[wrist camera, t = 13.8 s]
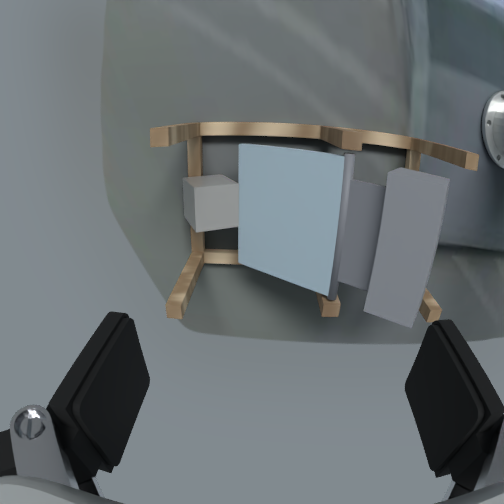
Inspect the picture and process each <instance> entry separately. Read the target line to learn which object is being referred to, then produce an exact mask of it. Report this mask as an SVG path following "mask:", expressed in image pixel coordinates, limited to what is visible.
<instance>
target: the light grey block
mask: <svg viewBox="0 0 504 504" xmlns="http://www.w3.org/2000/svg"><path fill="white" fill-rule="evenodd" d="M182 179H183V202H184V217H185V218H186V220H187V221H188V222H189V224H190V225H191V226H192V228H193V229H194V230H195V232H196V233H197V232H203V231H211V230H218V229H225V228H232V227H239V183H237V182H235V181H233V180H231V179H229V178H227V177H226V176H224V175H222V174H219V175H207V176H195V177H185V178H182Z"/></svg>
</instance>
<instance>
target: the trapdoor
mask: <svg viewBox="0 0 504 504" xmlns="http://www.w3.org/2000/svg"><path fill="white" fill-rule="evenodd" d="M354 163H355V154H353V153H344V155H338V154H331V153H324V152H317V151H310V150H302V149H294V148H285V147H276V146H266V145H255V144H239V227H238V263H240V264H243V265H246V266H248V267H251V268H254V269H256V270H259V271H262V272H264V273H267V274H270V275H272V276H275V277H278V278H280V279H283V280H286V281H288V282H291V283H294V284H296V285H299V286H302V287H305V288H307V289H310V290H313V291H315V292H318V293H321V294H324V295H326V296H327V298H328V299H329V300H336V299H337V293H338V287H339V282H342V283H345V284H348V285H351V286H354V287H357V288H360V289H363V290H366V291H368V293H367V298H366V302H365V306H364V312H367V313H370V314H373V315H375V316H378V317H381V318H384V319H387V320H389V321H392V322H395V323H398V324H401V325H403V326H406V327H409V328H412V326H413V323H414V321H415V318H416V316H417V313H418V311H419V308H420V305H421V303H422V299H423V296H424V293H425V290H426V286H427V283H428V279H429V276H430V272H431V269H432V265H433V261H434V257H435V253H436V249H437V245H438V241H439V236H440V232H441V227H442V223H443V218H444V213H445V207H446V202H447V196H448V190H449V184H450V179H448V178H444V177H440V176H436V175H432V174H428V173H423V172H419V171H415V170H410V169H406V168H401V167H400V168H397V169H395V170H392V171H390V172H388V176H387V184H386V186H382V185H378V184H373V183H368V182H364V181H359V180H354V179H353V174H354Z"/></svg>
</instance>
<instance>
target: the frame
mask: <svg viewBox="0 0 504 504" xmlns="http://www.w3.org/2000/svg"><path fill="white" fill-rule="evenodd" d="M204 135H252V136H282V137H301V138H316V139H322V140H324V141H326V142H328V143H330V144H332V145H335V146H337V147H339V148H341V149H348V150H358V151H362V143H367V144H375V145H383V146H390V147H397V148H404V149H407V153H406V163H405V168H406V169H410V170H415V171H419V166H420V157H421V153H423V154H426V155H429V156H432V157H435V158H438V159H441V160H443V161H446V162H449V163H452V164H455V165H457V166H460V167H463V168H465V169H470V170H475V171H477V167H478V159H479V155H478V154H475V153H472V152H468V151H465V150H461V149H458V148H454V147H450V146H447V145H443V144H439V143H435V142H431V141H427V140H422V139H418V138H413V137H407V136H401V135H395V134H388V133H381V132H374V131H367V130H359V129H350V128H341V127H330V126H319V125H305V124H289V123H265V122H201V123H185V124H177V125H170V126H163V127H156V128H150V144H151V147H163V146H171V145H174V144H176V143H179V142H182V141H185V140H187V148H188V177H195V176H203V166H202V136H204ZM190 228H191V245H192V253H191V255H190V257H189V259H188V261H187V263H186V265H185V267H184V269H183V271H182V273H181V275H180V277H179V279H178V281H177V283H176V285H175V287H174V289H173V291H172V293H171V295H170V297H169V299H168V301H167V303H166V312H167V318H175V319H182V318H183V316H184V313H185V311H186V308H187V305H188V303H189V300H190V298H191V295H192V292H193V290H194V287H195V285H196V282H197V280H198V277H199V275H200V272H201V270H202V267H203V265H204V263H214V264H240V263H238V250H227V249H205V234H204V231H203V232H197V233H196V232H195V230H194V229H193V228H192V226H191V225H190ZM240 265H243V264H240ZM316 295H317V299H318V304H319V308H320V312H321V316H322V317H338V315H339V310H340V305H341V304H340V301H339V298H338V295H337V299H336V300H329V299H328V298H327V296H326V295H324V294H321V293H318V292H316ZM419 311H420V313H421V314H422V316H423V317H424V319H425V321H426V322H434V321H436V320H439V317H440V315H441V312H442V309H441V308H440V306H439V305H438V303H437V302H436V301H435V299H434V298H433V297H432V295H431V294H430V293H429V291H428V290H427V289H426V290H425V293H424V296H423V299H422V303H421V305H420V308H419Z"/></svg>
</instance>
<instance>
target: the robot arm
mask: <svg viewBox="0 0 504 504" xmlns="http://www.w3.org/2000/svg"><path fill="white" fill-rule="evenodd" d="M482 133H483V140H484V143H485V147H486V149H487V151H488V154H489V155H490V157H491V159H492V160H493V161H494V162H495V163H496V164H497V165H498V166H499V167H501V168H503V169H504V91H499V92H496V93H494V94H493V95H492V96H491V97H490V98H489V100H488V101H487V103H486V106H485V108H484V112H483V117H482ZM149 383H150V377H149V373H148V370H147V367H146V364H145V360H144V357H143V353H142V350H141V346H140V343H139V339H138V335H137V331H136V327H135V324H134V320H133V319H131V318H129V316H128V314H126V313H119V312H109V313H108V314H107V315H106V317H105V318H104V320H103V321H102V322H101V324H100V326H99V327H98V328H97V330H96V331H95V333H94V334H93V335H92V337H91V338H90V340H89V341H88V343H87V344H86V346H85V347H84V349H83V350H82V352H81V353H80V355H79V356H78V358H77V359H76V361H75V362H74V364H73V365H72V367H71V368H70V370H69V371H68V373H67V375H66V376H65V378H64V379H63V381H62V383H61V384H60V386H59V387H58V389H57V390H56V392H55V394H54V395H53V397H52V399H51V400H50V402H49V405H48V406H47V408H46V409H45V408H44V407H41V406H40V405H27V406H25V407H23V408H21V409H20V410H18V411H17V412H16V413H15V414H14V416H13V417H12V420H11V422H10V429H8V430H6V431H3V432H0V504H123V503H119V502H116V501H113V500H109V499H106V498H105V497H104V495H103V493H102V491H101V489H100V487H99V484H98V482H97V480H96V477H95V476H96V474H97V471H98V469H100V470H103V471H106V472H109V473H111V472H112V470H113V467H114V466H118V464H119V463H120V461H121V458H122V455H123V453H124V450H125V447H126V444H127V442H128V439H129V436H130V434H131V431H132V428H133V426H134V423H135V421H136V418H137V415H138V413H139V410H140V408H141V405H142V402H143V400H144V397H145V395H146V392H147V390H148V387H149ZM405 392H406V395H407V398H408V401H409V403H410V406H411V409H412V412H413V415H414V418H415V421H416V424H417V428H418V431H419V434H420V437H421V440H422V443H423V446H424V450H425V453H426V457H427V460H428V464H429V467H430V469H431V470H432V471H434V472H435V475H436V477H441V476H444V475H448V474H450V473H451V476H452V481H451V483H450V485H449V487H448V489H447V492H446V494H445V496H444V498H443V500H442V502H438V503H435V504H504V414H503V413H504V406H503V404H502V402H501V400H500V398H499V396H498V395H497V393H496V391H495V389H494V387H493V385H492V384H491V382H490V380H489V378H488V377H487V375H486V373H485V372H484V370H483V368H482V367H481V365H480V363H479V362H478V360H477V358H476V357H475V355H474V353H473V352H472V350H471V349H470V347H469V346H468V344H467V342H466V341H465V339H464V338H463V336H462V335H461V333H460V332H459V330H458V329H457V327H456V326H455V324H454V323H453V321H452V320H449V319H448V320H436V321H434V322H433V323H432V325H430V326H429V327H428V329H427V331H426V334H425V337H424V339H423V342H422V344H421V347H420V350H419V352H418V355H417V357H416V360H415V362H414V364H413V366H412V369H411V371H410V373H409V376H408V378H407V380H406V383H405Z"/></svg>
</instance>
